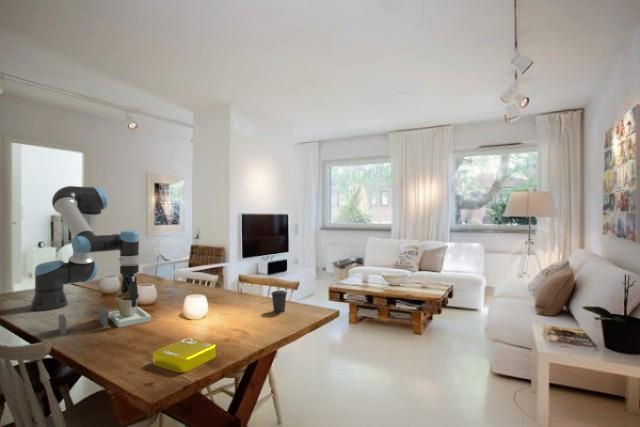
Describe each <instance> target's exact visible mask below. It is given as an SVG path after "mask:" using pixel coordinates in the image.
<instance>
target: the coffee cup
mask: <svg viewBox="0 0 640 427" xmlns="http://www.w3.org/2000/svg"><path fill="white" fill-rule="evenodd" d="M270 294H271V298H272V307H273V308H272V309H273V313H275V312H277V314H279V313H278V312H282V313H284V312H285V311H286V310H285V309H286V301H287V294H288V292H287V291H284V290H275V291H272V292H271V293H270Z"/></svg>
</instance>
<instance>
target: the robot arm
mask: <svg viewBox="0 0 640 427" xmlns="http://www.w3.org/2000/svg"><path fill="white" fill-rule="evenodd" d="M51 204H52V207H53V209H54V211H55V212H57V213H58V214H60V216H61V217H62V220H63V221H64V224H65V226H67V228H68V231H69V232H70V234H71V235H72V241H71V248H72V255H71V256H69V257H68V260H67V262H64V261H63V260H52V261H51V260H50V261H46V262H43V263H42V262H41V263H39V264H37V265H36V266H35V268H34V269H35V271H34V295H33V298H32V300H31V303H30V310H31V311H35V312H37V311H39V312H40V311H42V312H43V311H49V310H55V309H60V308H63V307H66V306H68V305H69V304H68V301H69V300H68V297H67V296H66V293H65V291H64V290H65V289H64V285H70V284H79V283H86V282H89V281H92V280H94V279H95V278H96V276H97V274H98V263H97V261H96V260H95V258H94V257H93V256H92V255H93V253H100V252H101V253H102V252H103V253H104V252H115V251H119V252H120V253H119V258H118V260H119V264H120V266H119V273H120V275H122V281H121V286H120V287H121V288H120V292H121V293H126V292H129V294H130V298H129V300H130V315H131V314H137V307H138V305H137V304H138V301H137V299H138V300H139V298H138V294H139V291H138V284H137V276H134V275H135V274H138V273H139V272H140V270H139V269H140V268H139V267H140V266H139V263H140V257H139V256H140V254H139V253H140V252H139V250H140V237H139V234H140V233H139V232H138V231H137V230H124V231H123V230H122V231H121V232H120V233H113V234H105V235H104V234H102V235H101V234H100V235H95V234H96V227H97V221H98V216H100V215H101V214H102V210H105V209H107V207H108V196H107V194H106V192H105V190H104V189H103V188H100V187H95V186H74V185H68V186H64V187H62V188H59V189H58V190H57V191H55V193H54V194H53V196H52V199H51Z"/></svg>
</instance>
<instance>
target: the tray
mask: <svg viewBox="0 0 640 427" xmlns="http://www.w3.org/2000/svg"><path fill="white" fill-rule="evenodd" d="M108 319H109V320H111V321H112V323H113V324H114V325H115V326H116V328H117V327H118V328H123V327H129V326H133V325H139V324H144V323H149V322H152V315H151V314H149V312H146V311H145V310H143V308H141V307H139V306H137V314H133V315H131V316H121V315H120V312H119V310H115V311H108Z"/></svg>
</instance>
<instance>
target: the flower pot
mask: <svg viewBox="0 0 640 427" xmlns="http://www.w3.org/2000/svg"><path fill="white" fill-rule="evenodd" d="M140 296H141V295H140V294H139V293H138V299H137V302H138V301H139V298H140ZM115 298H116V300H117V302H118V303H117V304H118V309H119V310H118V311H119V312H120V315H121V316H131V315H133V314H131V315H130V300H129V298H130V294H129V292H126V293H122V292H121V293H119V294H117V296H116V297H115Z"/></svg>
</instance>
